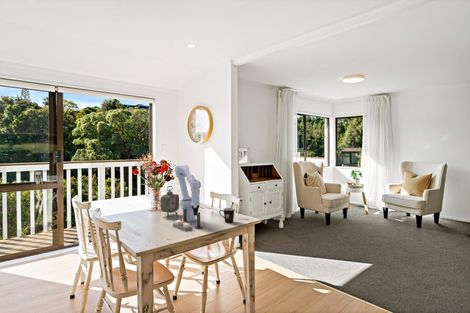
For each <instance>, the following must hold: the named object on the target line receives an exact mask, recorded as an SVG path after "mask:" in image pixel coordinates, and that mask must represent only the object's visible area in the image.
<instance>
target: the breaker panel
mask: <svg viewBox="0 0 470 313" xmlns="http://www.w3.org/2000/svg"><path fill="white" fill-rule="evenodd" d="M180 221H181V219H178V220H174V223H172V227H173V228H176V229H179V230H181V231H183V232H189V231H192V230H193V226H192V225H190V224H191V223H189V222H188V223H183V225H179V222H180Z"/></svg>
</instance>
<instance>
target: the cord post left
mask: <svg viewBox="0 0 470 313" xmlns="http://www.w3.org/2000/svg"><path fill="white" fill-rule="evenodd" d="M182 219H183V221H185V222H186V223H189V222H188V221H187V211H186V209H182Z"/></svg>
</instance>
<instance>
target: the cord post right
mask: <svg viewBox="0 0 470 313" xmlns="http://www.w3.org/2000/svg"><path fill="white" fill-rule="evenodd" d="M194 229H196V230H202V229H203V226H202V225H201V212H200V211H198V213H197V216H196V226H194Z"/></svg>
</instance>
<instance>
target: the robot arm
mask: <svg viewBox="0 0 470 313" xmlns="http://www.w3.org/2000/svg"><path fill="white" fill-rule="evenodd" d="M174 173H175V175H176V176H175V177H176V178H177V179H178V183H179V188H180V193H181V196H182V198H181V199H179V208H180V209H181V210H183V209H186V211H187V221H188V223H189V222H192V221H197V218H196V217H197V213H198V212H199V208H200V204H201V203H200V189H201V188H202V187H201V186H202V184H201V181H200V180H197V179H196V177H195V176H194V175H193V174H191V172H190V167H189V165H188V164H186V165H185V164H183V165H175V168H174ZM186 181H187V182H188V183H189V188H190V191H191V196H190V194H189V191H188V186H187V182H186ZM180 221H183V218H182V219H180Z"/></svg>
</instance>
